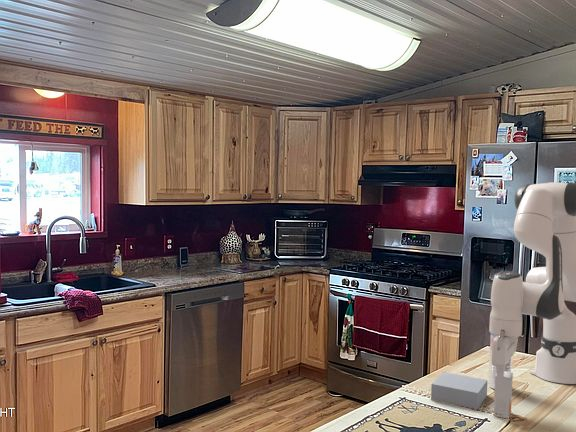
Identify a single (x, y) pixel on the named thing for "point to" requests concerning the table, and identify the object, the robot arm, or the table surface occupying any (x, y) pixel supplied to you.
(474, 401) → the base block
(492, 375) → the water bottle
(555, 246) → the robot arm
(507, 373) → the skincare box
